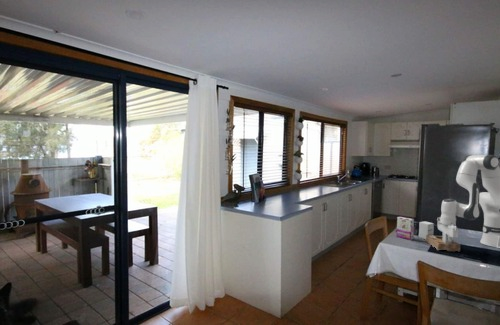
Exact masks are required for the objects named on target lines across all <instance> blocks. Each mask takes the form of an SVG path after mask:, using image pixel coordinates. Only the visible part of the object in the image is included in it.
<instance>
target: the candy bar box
mask: <svg viewBox="0 0 500 325" xmlns="http://www.w3.org/2000/svg"><path fill="white" fill-rule="evenodd" d="M414 224H415V219H414V218H409V217H404V216H397V217H396V238H400V239H405V240H409V241H412V240H414V230H415V228H414Z"/></svg>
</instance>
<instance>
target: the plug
mask: <svg viewBox="0 0 500 325" xmlns="http://www.w3.org/2000/svg"><path fill="white" fill-rule="evenodd" d="M442 236H443V238H442V241H443V242H444V243H450V244H452V240H453V238H452V239H451V242H449V241H447V238H449V237H448V235H447V234H446V233H445V232H443V233H442Z"/></svg>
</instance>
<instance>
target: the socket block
mask: <svg viewBox="0 0 500 325" xmlns="http://www.w3.org/2000/svg"><path fill="white" fill-rule="evenodd" d="M442 238H443V235H433V236H432V235H426V239H425V242H426V243H427V244H428V245H430V246H431V245H432V246H431V247H433V248H434V247H435V248H436V251H439V250H447V251H446V252H455V251H458V253H460V252H461V244H460V243H458V242H457V241H454V240H453V239H452V244H450V243H444V242H443V241H442ZM435 248H434V249H435Z"/></svg>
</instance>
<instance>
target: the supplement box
mask: <svg viewBox="0 0 500 325" xmlns="http://www.w3.org/2000/svg"><path fill="white" fill-rule="evenodd" d="M434 225H435V223H433V222H429V221H426V220H425V221H419V225H418V226H419V227H418V237H419V238H421V239H423V240H426V235H432V236H434V231H435V230H434V228H435V227H434Z"/></svg>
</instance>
